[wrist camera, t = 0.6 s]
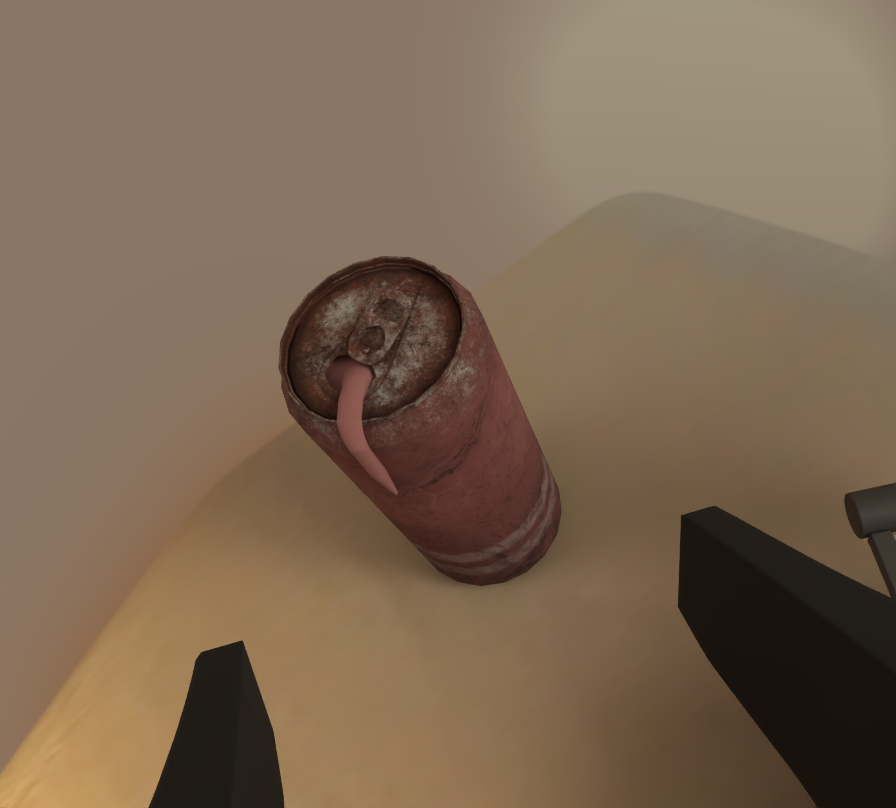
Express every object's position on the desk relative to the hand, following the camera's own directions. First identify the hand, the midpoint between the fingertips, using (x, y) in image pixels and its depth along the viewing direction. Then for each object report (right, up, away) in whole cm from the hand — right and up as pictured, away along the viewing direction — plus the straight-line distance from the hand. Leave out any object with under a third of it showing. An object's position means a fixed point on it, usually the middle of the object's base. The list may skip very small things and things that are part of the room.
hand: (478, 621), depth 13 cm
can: (+1, -1, +21) cm, 21 cm away
